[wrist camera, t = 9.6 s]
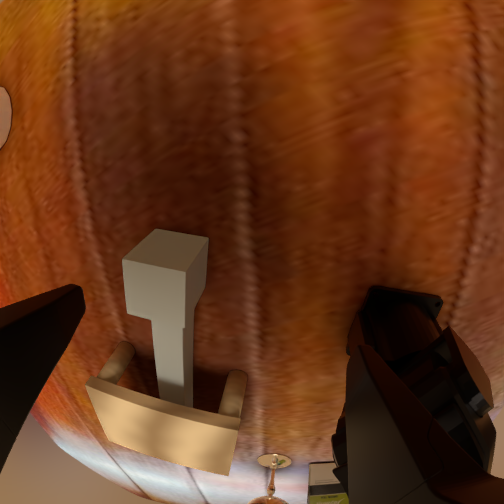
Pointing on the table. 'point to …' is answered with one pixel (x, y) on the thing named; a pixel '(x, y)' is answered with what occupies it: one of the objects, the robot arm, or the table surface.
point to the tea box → (325, 485)
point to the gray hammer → (168, 303)
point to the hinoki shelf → (167, 419)
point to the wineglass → (272, 461)
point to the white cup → (4, 115)
